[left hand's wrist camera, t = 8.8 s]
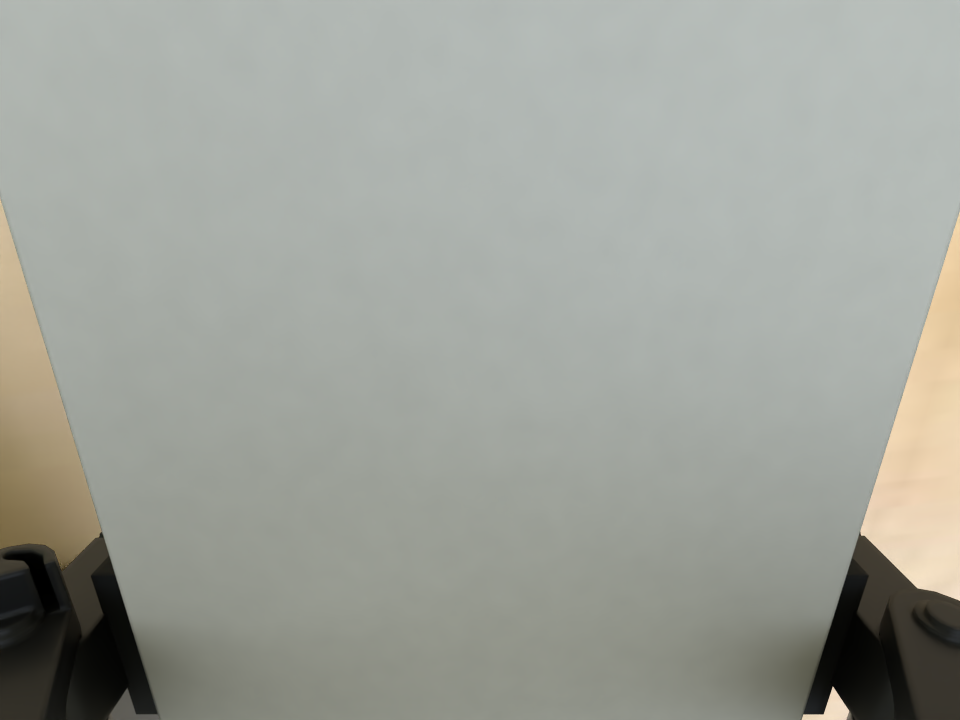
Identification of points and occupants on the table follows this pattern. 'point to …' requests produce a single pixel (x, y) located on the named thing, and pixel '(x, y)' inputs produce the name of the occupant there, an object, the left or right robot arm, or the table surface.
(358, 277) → the grey long rectangular bar
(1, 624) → the left robot arm
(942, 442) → the table surface
